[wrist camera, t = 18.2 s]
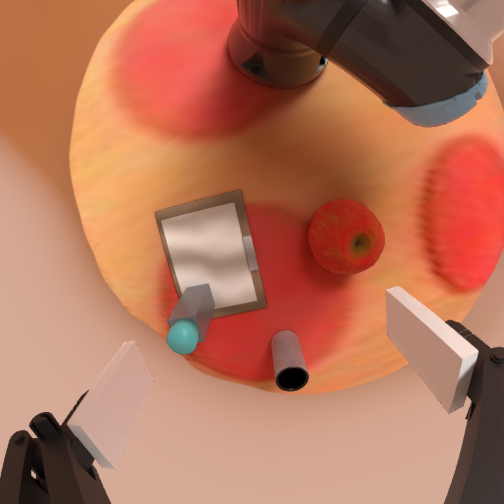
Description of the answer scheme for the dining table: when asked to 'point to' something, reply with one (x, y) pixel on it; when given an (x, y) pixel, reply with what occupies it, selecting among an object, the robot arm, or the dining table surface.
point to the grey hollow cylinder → (288, 361)
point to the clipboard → (213, 251)
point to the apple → (345, 237)
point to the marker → (190, 319)
